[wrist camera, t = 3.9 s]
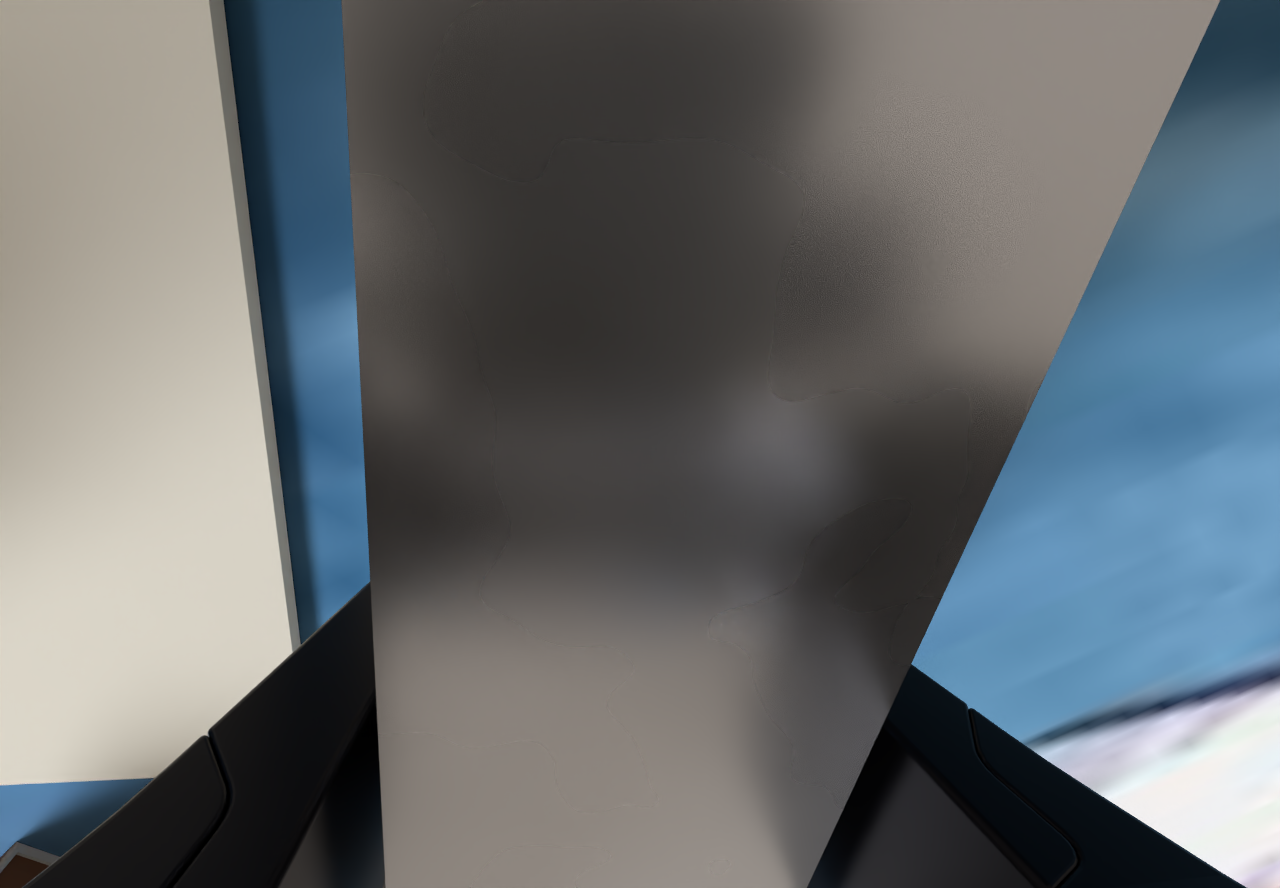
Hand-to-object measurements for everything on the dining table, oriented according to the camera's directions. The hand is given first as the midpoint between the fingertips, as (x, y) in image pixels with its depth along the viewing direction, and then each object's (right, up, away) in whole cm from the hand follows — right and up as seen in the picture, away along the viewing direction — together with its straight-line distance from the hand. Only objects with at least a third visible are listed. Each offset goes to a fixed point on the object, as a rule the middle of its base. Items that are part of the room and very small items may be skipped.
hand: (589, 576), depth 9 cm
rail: (0, 0, 0) cm, 0 cm away
